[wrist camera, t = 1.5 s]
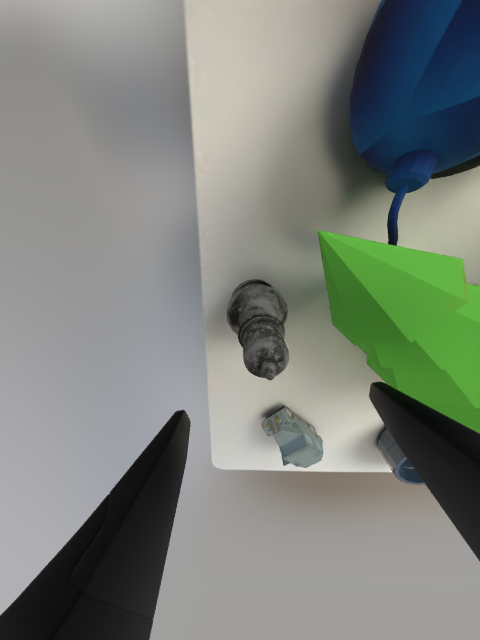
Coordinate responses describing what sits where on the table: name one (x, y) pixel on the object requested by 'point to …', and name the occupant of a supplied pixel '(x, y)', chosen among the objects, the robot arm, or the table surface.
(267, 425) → the toy car
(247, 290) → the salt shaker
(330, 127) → the table surface
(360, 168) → the table surface
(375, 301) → the decorative tree
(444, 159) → the blue rounded body
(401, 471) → the blue fountain
